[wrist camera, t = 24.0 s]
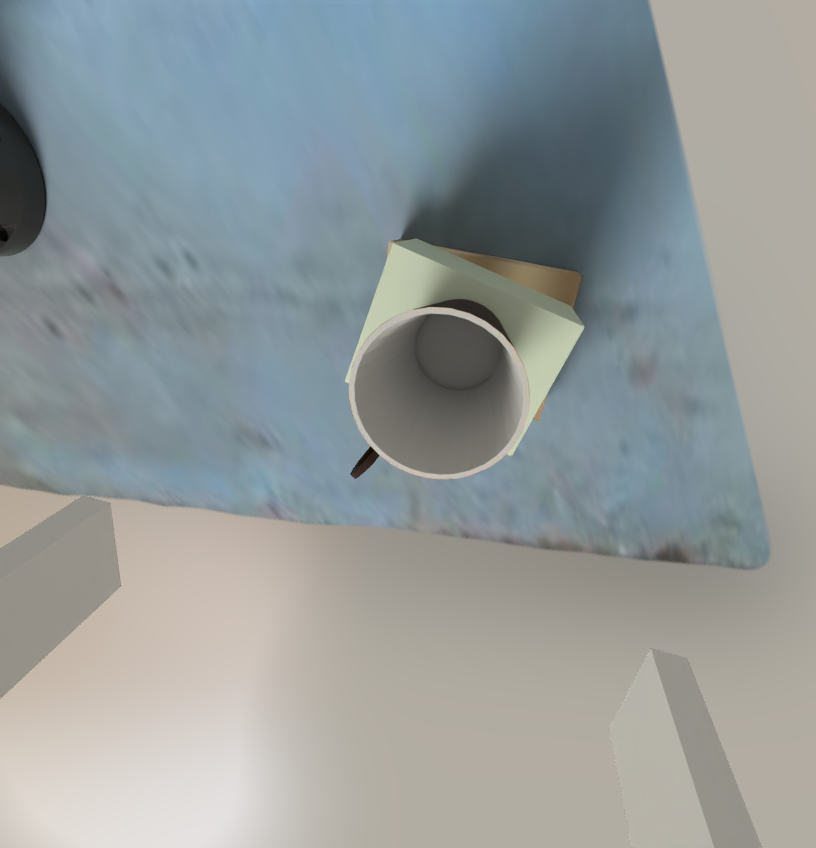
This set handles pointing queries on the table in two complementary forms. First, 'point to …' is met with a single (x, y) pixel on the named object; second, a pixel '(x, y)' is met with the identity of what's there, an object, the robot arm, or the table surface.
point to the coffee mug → (439, 391)
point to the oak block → (526, 278)
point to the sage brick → (509, 301)
